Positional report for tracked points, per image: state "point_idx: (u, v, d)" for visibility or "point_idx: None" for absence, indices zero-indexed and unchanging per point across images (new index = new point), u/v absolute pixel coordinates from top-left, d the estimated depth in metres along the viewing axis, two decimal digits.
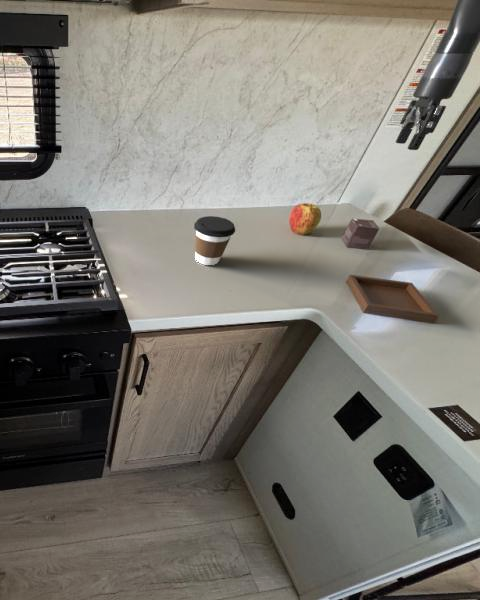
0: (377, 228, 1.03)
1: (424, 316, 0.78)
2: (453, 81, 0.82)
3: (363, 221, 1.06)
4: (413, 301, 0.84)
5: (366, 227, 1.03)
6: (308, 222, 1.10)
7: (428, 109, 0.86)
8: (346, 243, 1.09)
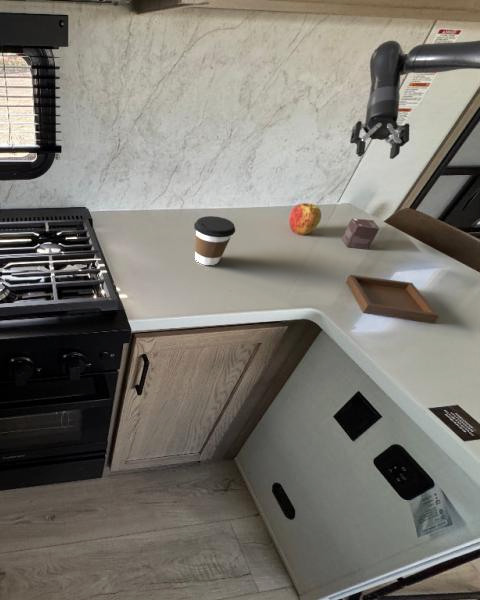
0: (377, 228, 1.03)
1: (424, 316, 0.78)
2: (372, 106, 1.05)
3: (363, 221, 1.06)
4: (413, 301, 0.84)
5: (366, 227, 1.03)
6: (308, 222, 1.10)
7: (363, 128, 1.07)
8: (346, 243, 1.09)
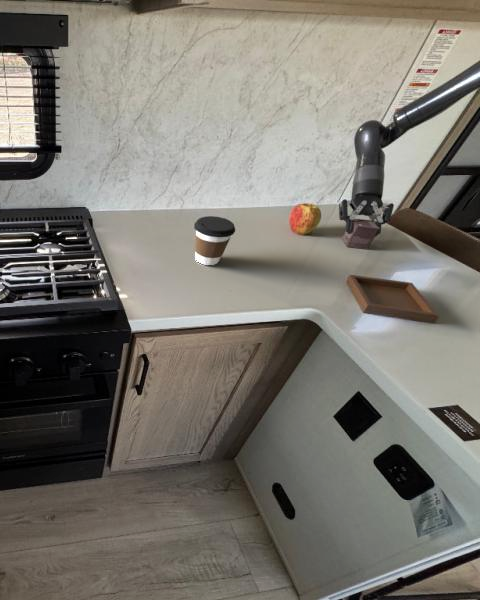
0: (377, 228, 1.03)
1: (424, 316, 0.78)
2: (357, 183, 1.07)
3: (363, 221, 1.06)
4: (413, 301, 0.84)
5: (366, 227, 1.03)
6: (308, 222, 1.10)
7: None
8: (346, 243, 1.09)
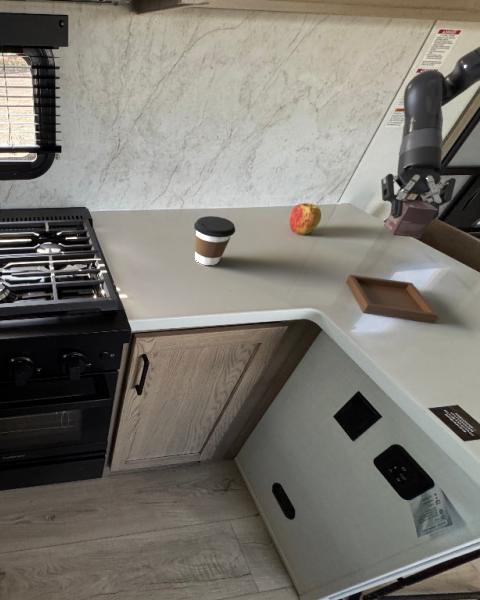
0: (435, 210, 0.79)
1: (424, 316, 0.78)
2: (406, 153, 0.83)
3: (414, 201, 0.82)
4: (413, 301, 0.84)
5: (420, 208, 0.79)
6: (308, 222, 1.10)
7: (395, 180, 0.85)
8: (391, 230, 0.85)
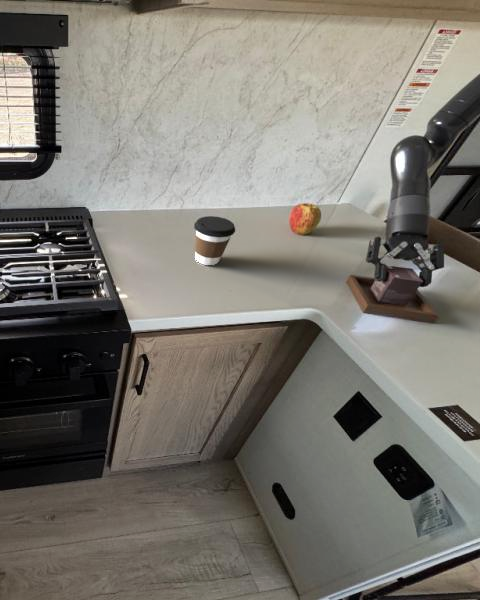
0: (420, 281, 0.78)
1: (424, 316, 0.78)
2: (394, 218, 0.82)
3: (400, 270, 0.82)
4: (413, 301, 0.84)
5: (405, 279, 0.79)
6: (308, 222, 1.10)
7: (383, 244, 0.84)
8: (377, 297, 0.84)
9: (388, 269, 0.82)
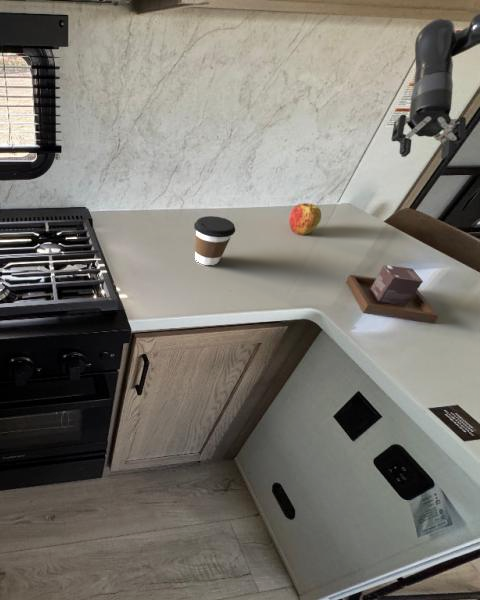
0: (420, 281, 0.78)
1: (424, 316, 0.78)
2: (418, 97, 0.88)
3: (400, 270, 0.82)
4: (413, 301, 0.84)
5: (405, 279, 0.79)
6: (308, 222, 1.10)
7: None
8: (377, 297, 0.84)
9: (388, 269, 0.82)
